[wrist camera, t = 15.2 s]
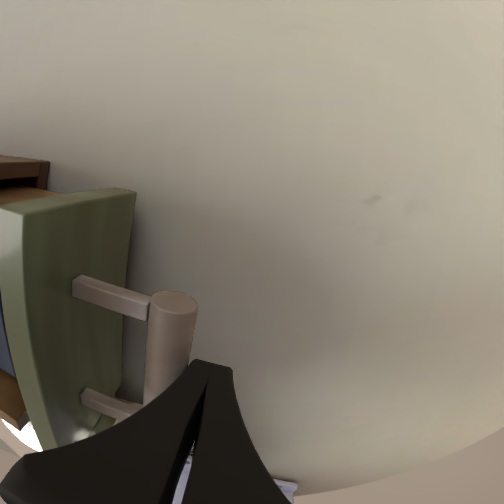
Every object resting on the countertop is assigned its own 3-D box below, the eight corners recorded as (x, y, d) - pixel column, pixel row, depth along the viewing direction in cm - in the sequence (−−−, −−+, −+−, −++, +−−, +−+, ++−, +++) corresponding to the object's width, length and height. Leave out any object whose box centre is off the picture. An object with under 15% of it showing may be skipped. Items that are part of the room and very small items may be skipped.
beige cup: (-62, 371, 10) (86, 458, 8) (-6, 337, 17) (145, 376, 15) (-24, 444, 11) (131, 529, 10) (19, 405, 18) (165, 454, 17)
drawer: (231, 212, 12) (188, 256, 5) (192, 405, 14) (160, 507, 8) (-23, 163, 12) (-105, 173, 5) (-19, 312, 14) (-80, 352, 8)
